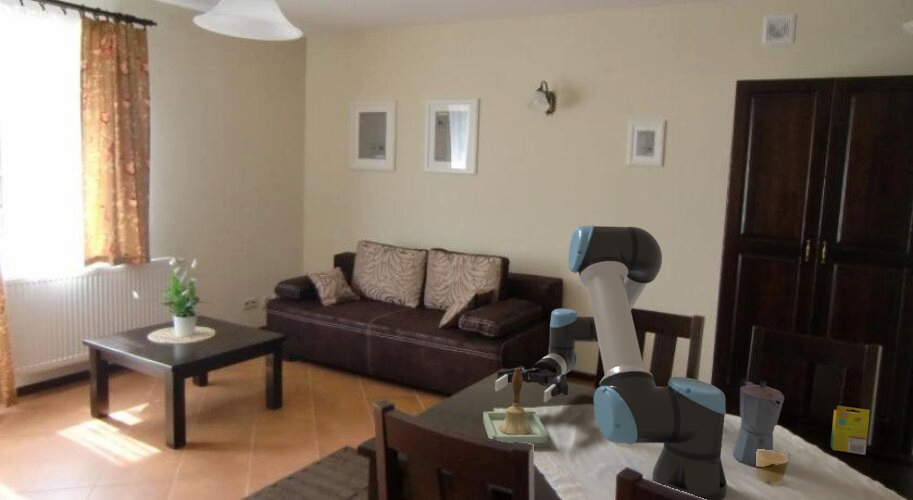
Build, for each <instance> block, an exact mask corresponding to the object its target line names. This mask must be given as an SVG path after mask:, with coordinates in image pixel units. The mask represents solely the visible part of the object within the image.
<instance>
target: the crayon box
mask: <svg viewBox="0 0 913 500" xmlns="http://www.w3.org/2000/svg"><path fill="white" fill-rule="evenodd" d="M847 410H848V411H847ZM853 410H854V411H855V412H854V411H853ZM870 413H871V412H870V409H865V408H859V407H857V408H856V407H850V406H843V405H836V409H833V416H832V418H833V419H832V427H831V428H832V429H831V434H830V435H831V437H830V448H831V449H832V450H833V451H839V452H845V453H851V454H858V455H863V456H866V452H867V451H866V450H867V440H868V435H869V434H868V432H869V423H870Z"/></svg>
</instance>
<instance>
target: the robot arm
mask: <svg viewBox="0 0 913 500" xmlns="http://www.w3.org/2000/svg"><path fill="white" fill-rule="evenodd" d="M569 243H570V244H569V248H568V259H567V261H568V268H569V270H570V272H572V273H574V274H577V273H578V275H579V280H580V282H581V284H582V285H584V286H585V287H587V288H588V294H589V298H590V304H591V309H592V310H591V311H592V315H593V316H578V313H577V311H575V310H574V309H569V308H556V309H554V310H552V311H551V315H550V322H549V323H550V324H549V345H548V354H547V355H545V356H543V357H542V358H541V359H540V360H537V362H535V364H534V365H533V366H532V368H528V369H525V366H524V365H519V366H518V367H513V368H509V369H504V370H499V371H497V374H496V379H495V381H494V391H495V392H499V391H500V390H502V389H504V388H505V387H507V386H508V384H510V383H511V384H512V378H513V375H514V372H515V369H516V368H520V369H521V374H522V378H523V381H522V382H525V383H529V384H530V383H534V384H536V383H538V384H539V385H541V386H543V387H547V388H546V389H545V390H544V391H543V401H542V402H544V403H547V402H548V401H549V400H551V399H552V398H553V397H557V396H560V395H561V394H562V395H563V396H568V395H569V384H568V382H567V374H568V373H569V372H571V371H572V370H573V369H574V368H575V367H576V366H577V363H578V354H577V352H576V350H575V348H576V347H575V345H576V344H575V343H584V342H585V343H598V346H599V347H598V348H599V353H600V358H601V364H602V369H603V373H604V376H603V377H602V378H601V380H600V381H599V387H597V389H596V390H595V391H594V393H593V394H594V395H593V404H594V405H593V411H594V412H593V413H594V417H595V421H596V425H597V426H598V429H599V431H600V432H601V434H602V435H603V437H605V439H607V441H609V442H611V443H614V444H615V443H616V444H626V445H634V444H663V447H662V448H661V449H662V450H661V451H660V454H659V456H658V457H657V460H656V462H655V465H654V467H653V469H652V476H651V477H652V482H653V481H655V482H657V483H660V484H662V485H666V486H669V487H671V488H674V489H678V490H680V491H684V492H687V493H690V494H693V495H695V496H698V497H701V498H704V499H707V500H724V499H725V497H726V496H727V489H728V488H727V487H728V484H727V478H726V475H725V472H724V467H723V464H722V459H721V455H722V454H721V453H722V444H723V437H724V436H723V435H724V434H723V433H724V426H725V425H724V424H725V417H726V414H727V410H726V395H725V393H724V392H723V391H722V390H721V389H719V388H718V387H716V386H715V385H712V384H711V383H707V382H704V381H702V380H699V379H696V378H690V377H685V376H683V377H682V376H674V377H671V378H669V380H668V382H667V385H668V386H656V382H655V379H654V376H653V375H654V374H653V373H651V372H649V371H648V370H646V369H645V368H644V367H645V366H644V364H643V359H642V354H641V350H640V345H639V341H638V340H639V339H638V337H637V333H636V328H635V324H634V320H633V315H632V309H633V308H634V306H635V304H636V303H637V301H638V299H639V298H640V296H641V295H642V292H644V289H645V288H646V286H647V285H648V284H650V283H652V282H653V281H654V280H655V279H656V278H657V276H658V274H659V273H660V270H661V269H662V264H663V253H662V249H661V246H660V244H659V242H658V241H657V239H656V238H655V237H654V235H652V234H651V233H650V232H648V230H645V229H643V228H642V227H641V228H640V227H636V226H606V225H605V226H604V225H603V226H597V225H596V226H595V225H594V224H591V225H581V226H578V227H577V228H575V230H574V231H573V234H572V237H571V239H570V242H569Z"/></svg>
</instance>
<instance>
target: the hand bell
mask: <svg viewBox="0 0 913 500" xmlns="http://www.w3.org/2000/svg"><path fill="white" fill-rule="evenodd" d="M515 368H516V369H515V372H514V375H513V378H512V382H511V384H512V385H511V386H512V391H513V397H512V406H508V408H507V410H506V412H507V414H506V417H505V420H504V421H503V423H501V424H500V426H499V430H500V431H501V432H502V433H505V434H508V435H526V434H529V433H530V432H531V427H530V426H529V425H528V424H527V422H526V418H525V412H526V411H525V409H524V408H523V407H522V406H520V402H521V401H520V397H521V395H520V393H521V389H522V387H523V382H524V381H523V378H522V374H521V369H520V368H518V367H515Z"/></svg>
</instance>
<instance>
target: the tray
mask: <svg viewBox="0 0 913 500" xmlns="http://www.w3.org/2000/svg"><path fill="white" fill-rule="evenodd" d="M506 414H507V411H483V412H482V424H483V425H484V430H485V432H486V435H487V438H488V439H489V438H490V439H493V440H497V441H501V442H508V443H514V442H527V443H531V444H534V448H535V449H536V448H538V449H539V448H549V447H550V435H549V433H548V431H547V429H546V428H545V426H544V424H543V423H542V421H541V419H540V418H539V415H538V414H537V412H536V411H525V418H526V422H527V424H528V425H529V426H530V427H531V432H530V433H529V434H526V435H508V434H505V433H502V432H501V431H500V430H499V426H500V424H501V423H503V421H504V420H505V417H506Z"/></svg>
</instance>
